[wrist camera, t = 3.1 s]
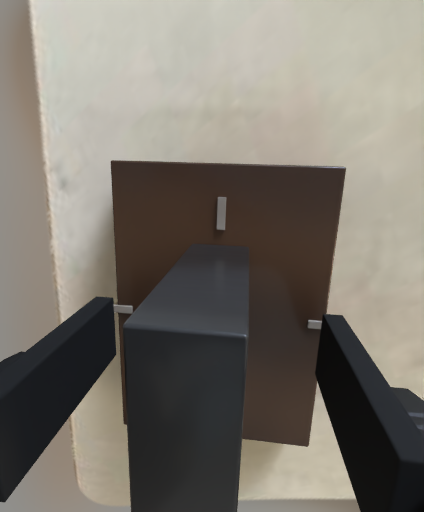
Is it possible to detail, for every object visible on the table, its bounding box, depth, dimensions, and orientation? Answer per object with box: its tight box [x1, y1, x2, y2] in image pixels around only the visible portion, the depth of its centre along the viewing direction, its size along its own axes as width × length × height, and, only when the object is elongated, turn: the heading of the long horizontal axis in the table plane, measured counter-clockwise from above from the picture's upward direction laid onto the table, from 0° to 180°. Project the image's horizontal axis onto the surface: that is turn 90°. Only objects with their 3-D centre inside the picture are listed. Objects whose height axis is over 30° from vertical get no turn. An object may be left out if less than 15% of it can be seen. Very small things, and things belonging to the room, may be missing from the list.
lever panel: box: [111, 160, 346, 447], centre depth 16 cm, size 14×11×3 cm
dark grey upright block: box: [123, 244, 249, 512], centre depth 11 cm, size 7×3×8 cm, turn 178°
